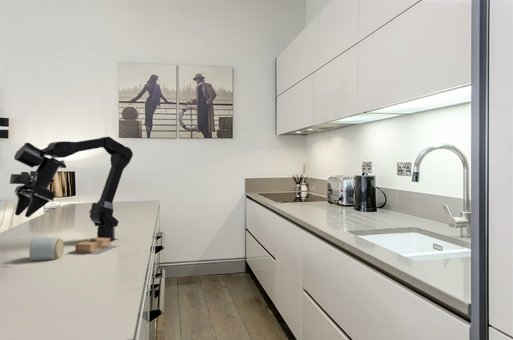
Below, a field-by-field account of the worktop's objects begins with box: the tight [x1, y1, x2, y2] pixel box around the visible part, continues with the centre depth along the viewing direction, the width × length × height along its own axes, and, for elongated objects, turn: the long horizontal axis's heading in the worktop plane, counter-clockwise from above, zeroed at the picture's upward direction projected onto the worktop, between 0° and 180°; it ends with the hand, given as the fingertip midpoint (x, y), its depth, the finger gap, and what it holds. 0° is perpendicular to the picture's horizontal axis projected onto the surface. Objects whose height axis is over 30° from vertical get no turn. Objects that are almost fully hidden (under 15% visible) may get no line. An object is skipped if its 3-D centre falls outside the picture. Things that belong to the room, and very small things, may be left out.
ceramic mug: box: [28, 236, 65, 262], centre depth 117 cm, size 11×8×8 cm
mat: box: [67, 245, 119, 255], centre depth 126 cm, size 12×12×1 cm
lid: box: [74, 237, 112, 255], centre depth 126 cm, size 11×6×4 cm, turn 167°
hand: (21, 215), depth 117 cm, fingers open, 9 cm apart
